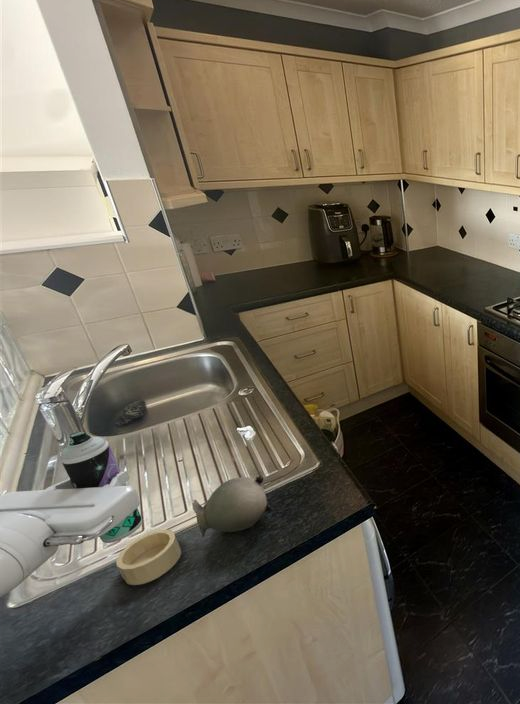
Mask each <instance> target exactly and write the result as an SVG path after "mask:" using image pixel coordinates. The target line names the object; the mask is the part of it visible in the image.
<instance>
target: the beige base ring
mask: <svg viewBox="0 0 520 704" xmlns="http://www.w3.org/2000/svg"><path fill="white" fill-rule="evenodd" d="M181 556H182V548H181V546H180V543H179V541H178V538H177V536H176V534H175V532H174V531H172V530H170V529H158V530H155V531H151V532H148V533H146V534H144V535H142V536H140V537H138V538H137V539H135V540H134V541H132V542H131V543H129V544H128V545H126V547H124V548H123V549H122V551H121V552H120V553H119V554H118V556H117V557H116V560H115V563H116V568H117V570H118V572H119V574H120V576H121V577H122V579H123V581H124V582H125V583H126V584H127V585H130V586H141V585H145V584H147V583H150V582H152V581H154V580H156V579H159V578H160V577H161V576H163V575H165V574H166V573H167V572H168V571H170V570H171V569H172V568H173V567H174V566H175V565H176V564H177V563H178V561H179V560H180V558H181Z"/></svg>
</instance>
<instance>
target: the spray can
mask: <svg viewBox="0 0 520 704" xmlns="http://www.w3.org/2000/svg"><path fill="white" fill-rule="evenodd" d="M69 440H70V441H69V442H68V443H67V446H66V447H65V448H63V449H62V450H60V452H59V455H58V456H59V458H60V460H59V461H60V462H61V464H62V466H63V468H64V470H65V472H66V474H67V476H68V478H70V480H71V482H72V484H73V486H74V488H75V489H76V488H95V487H103V486H104V485H107V484H110V483H111V482H110V481H109V477H110V476H112V475H113V474H114V473H116V472H122V471H121V469H120V466H119V464H118V461H117V459H116V457H115V455H114V453H113V451H112V448H111V446H110V444H109V442H108V441H107V440H106V437H104V436H92V435H90V434H87V432H85V431H76V432H74V433H71V434H70V435H69ZM122 486H128V484H127V482H125V483H124V484H123V485H122ZM138 508H139V507H138ZM138 508H137V509H136V510H134V511H133V512H132V513H131V514H130V515H129V516H127V517H126V518H125V519H124V520H122V521H121V522H120V523H119V524H117V525H116V526H115V527H113V528H112V529H111V530H109V531H108V532H107V533H105V534H103V535H102V536H100V537H99V539H100V540H101V542H102V543H105V544H111V543H112V544H113V543H115V542H118V541H122V540H123V539H126V538H128V537H129V536H131V535H133V534H134V533H136V531H138V530H139V529H140V528H141V526H142V525H143V518H142V515H141V512H140V511H139V509H138Z"/></svg>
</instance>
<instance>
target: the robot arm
mask: <svg viewBox="0 0 520 704" xmlns="http://www.w3.org/2000/svg"><path fill="white" fill-rule="evenodd" d="M129 480H130V475H129V473H128V471H126V470H124V471H121V472H116V473H114V474H113V475H112V476H110V477H109V481H110V482H111V483H110V484H107V485H104V486H103V487H95V488H76V489H75V488H74V486H73V484H72V482H71V480H70V478H69V477H68V478H66V479H65V480H62V481H60V482H58V483H55V484H53V485H50V486H48V487H47V488H44V489H42V490H41V489H40V490H39V489H38V490H19V491H9V492H6V493H3V494H1V495H0V598H1V597H3V596H5V595H7V594H9V593H10V592H11V591H13V590H14V589H16V588H17V587H18V586H20V585H21V584H22V583H23V582H24V581H25V580H26V579H28V578H29V577H30V576H31V575H33V573H34V572H36V571H37V570H38V569H39V568H40V567H41V566H43V565H44V564H45V563H46V562H47V561H48V560H50V559H51V558H52V557H53V556H54V555H55V554H57V553H56V552H57V551H58V549H59V547H60V546H65V545H70V546H76V545H82V544H83V543H85V542H88V541H93V540H95V539H97V538H100V536H102V535H103V534H105V533H107V532H108V531H109V530H111V529H112V528H113V527H115V526H116V525H117V524H119V523H120V522H121V521H122V520H124V519H125V518H126V517H127V516H129V515H130V514H131V513H132V512H133V511H134V510H136V509H137V508H139V507H140V505H141V499H140V497H139V493H138V492H137V489H136V487H134V485H127V486H122V485H123V484H124V483H125V482H126V483H127V482H128V481H129Z"/></svg>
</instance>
